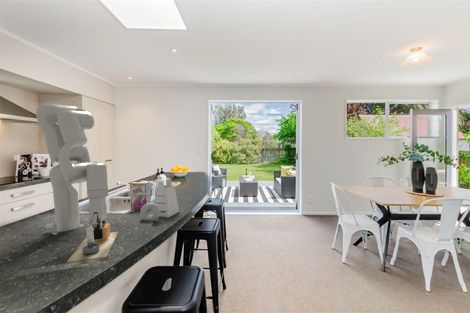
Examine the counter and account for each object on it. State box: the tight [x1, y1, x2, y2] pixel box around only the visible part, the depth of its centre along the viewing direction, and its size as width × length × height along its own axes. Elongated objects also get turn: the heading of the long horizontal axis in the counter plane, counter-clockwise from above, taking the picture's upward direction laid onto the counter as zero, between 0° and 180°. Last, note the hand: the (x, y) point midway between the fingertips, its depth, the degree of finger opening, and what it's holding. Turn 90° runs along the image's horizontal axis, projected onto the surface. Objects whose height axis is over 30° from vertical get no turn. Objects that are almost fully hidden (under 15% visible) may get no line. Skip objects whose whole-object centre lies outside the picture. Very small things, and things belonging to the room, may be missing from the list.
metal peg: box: [83, 225, 99, 256], centre depth 88 cm, size 5×5×10 cm
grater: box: [152, 177, 180, 218], centre depth 140 cm, size 10×10×20 cm
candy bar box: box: [129, 181, 151, 210], centre depth 153 cm, size 11×5×16 cm, turn 77°
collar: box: [92, 222, 111, 242], centre depth 102 cm, size 6×6×5 cm
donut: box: [139, 202, 160, 222], centre depth 126 cm, size 10×4×10 cm, turn 106°
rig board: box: [66, 231, 119, 267], centre depth 95 cm, size 12×25×2 cm, turn 17°
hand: (100, 235), depth 102 cm, fingers closed on collar, 6 cm apart
